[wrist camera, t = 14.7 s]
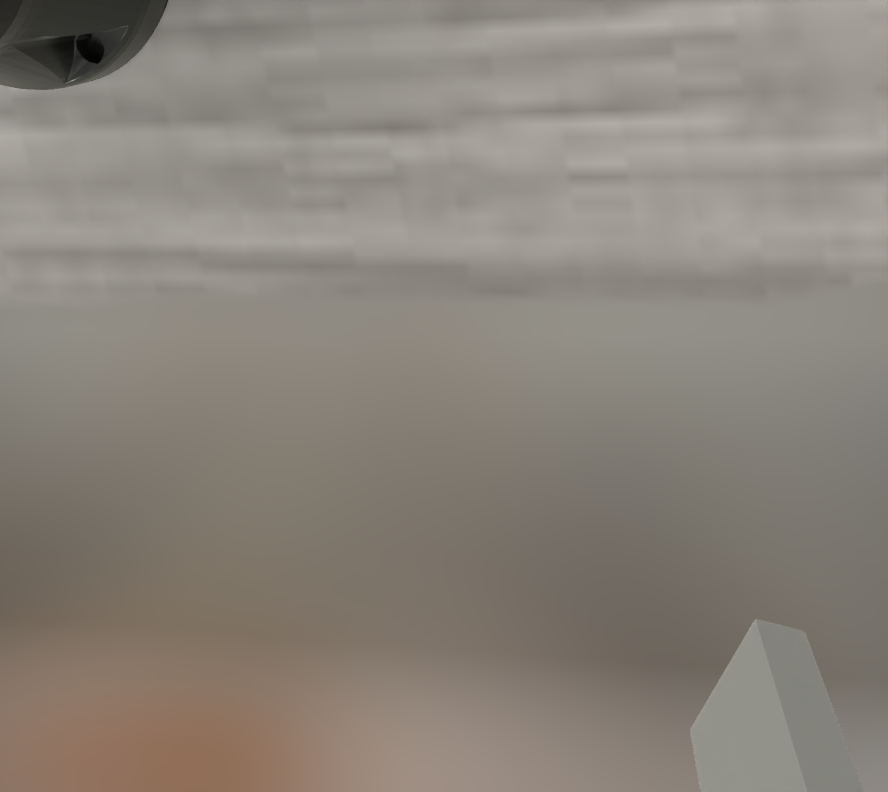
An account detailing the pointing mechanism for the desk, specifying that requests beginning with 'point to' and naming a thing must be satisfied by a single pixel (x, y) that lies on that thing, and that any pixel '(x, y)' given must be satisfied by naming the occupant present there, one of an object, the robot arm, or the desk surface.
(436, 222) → the desk surface
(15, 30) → the robot arm
